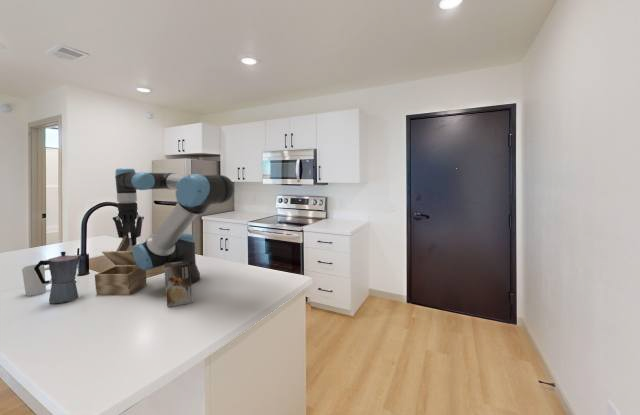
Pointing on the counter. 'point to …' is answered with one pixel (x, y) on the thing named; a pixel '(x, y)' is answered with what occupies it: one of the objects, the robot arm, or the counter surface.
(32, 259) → the counter surface
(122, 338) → the counter surface
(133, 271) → the carton
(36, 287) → the mug
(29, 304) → the counter surface
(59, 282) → the moka pot
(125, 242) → the flap
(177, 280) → the coffee box
